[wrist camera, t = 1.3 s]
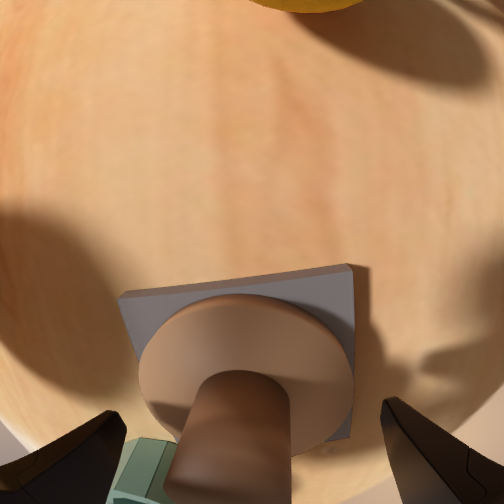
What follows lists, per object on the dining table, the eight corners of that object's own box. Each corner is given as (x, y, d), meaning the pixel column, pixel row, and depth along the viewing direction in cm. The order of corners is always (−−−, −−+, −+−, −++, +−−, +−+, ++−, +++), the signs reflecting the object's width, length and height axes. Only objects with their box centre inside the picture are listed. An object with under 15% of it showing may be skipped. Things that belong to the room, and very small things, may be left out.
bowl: (211, 444, 12) (194, 506, 8) (236, 496, 13) (229, 543, 9) (106, 431, 13) (78, 477, 9) (148, 486, 14) (132, 525, 10)
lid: (346, 277, 8) (412, 380, 4) (345, 435, 10) (362, 528, 5) (122, 303, 9) (33, 384, 4) (181, 443, 11) (152, 525, 6)
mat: (346, 263, 9) (352, 270, 8) (346, 425, 11) (349, 437, 10) (126, 291, 10) (116, 299, 9) (182, 434, 12) (179, 446, 11)
